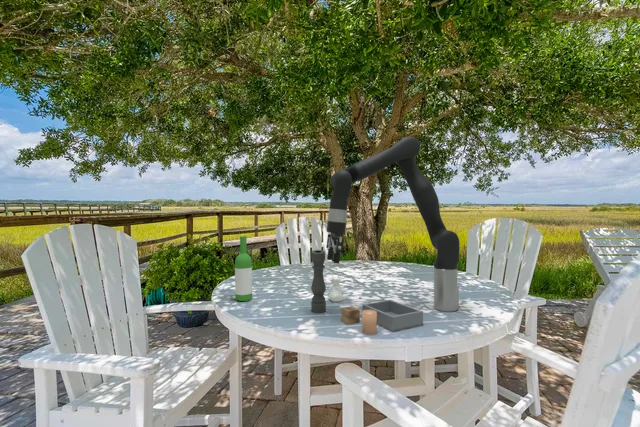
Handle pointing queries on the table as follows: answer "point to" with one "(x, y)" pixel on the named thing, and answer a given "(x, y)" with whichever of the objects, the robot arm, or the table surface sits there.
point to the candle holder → (318, 282)
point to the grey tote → (395, 315)
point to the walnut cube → (350, 315)
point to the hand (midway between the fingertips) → (332, 261)
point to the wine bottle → (243, 273)
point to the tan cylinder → (369, 322)
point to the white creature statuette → (336, 290)
